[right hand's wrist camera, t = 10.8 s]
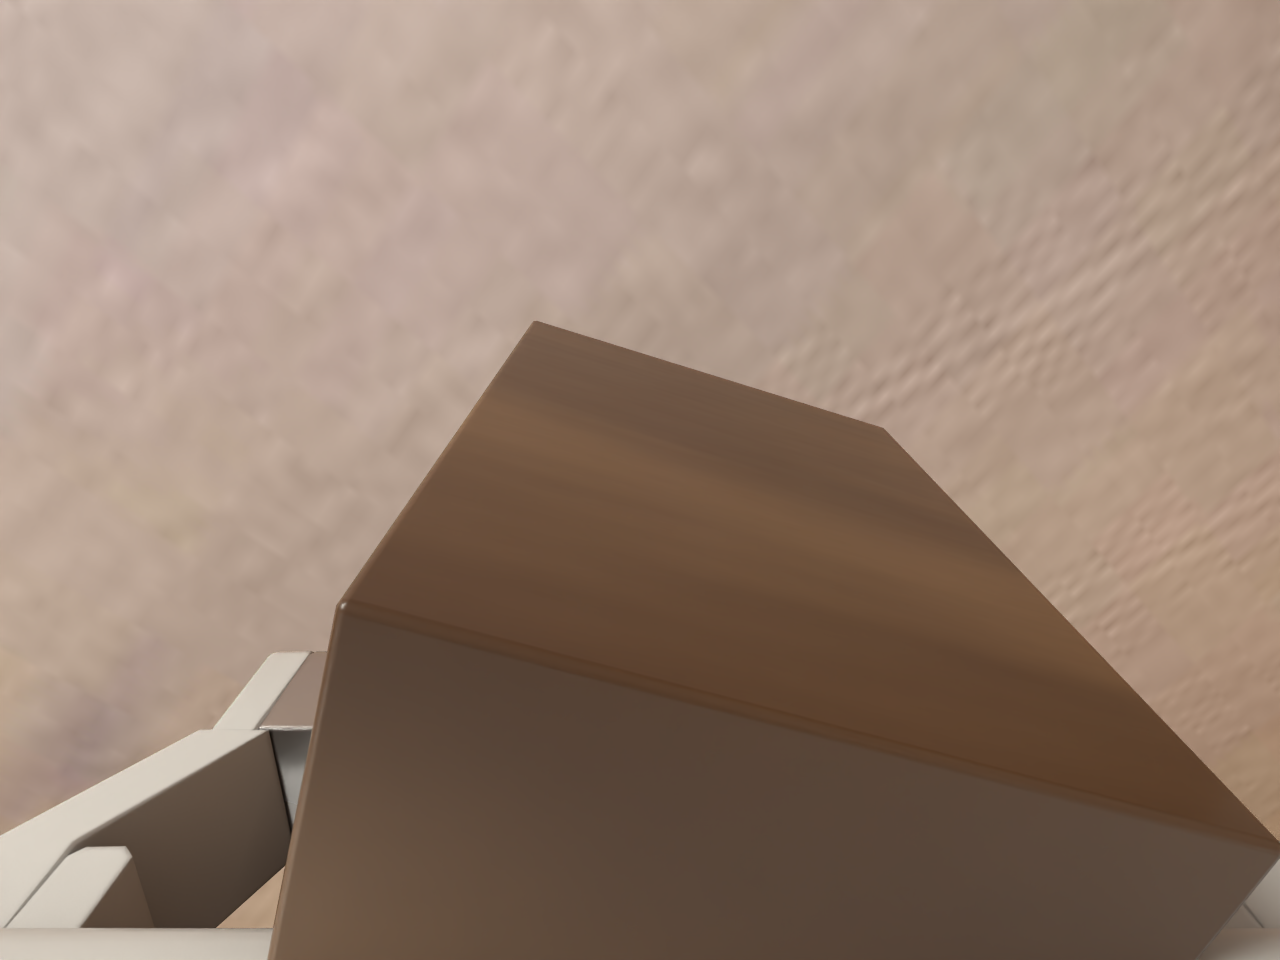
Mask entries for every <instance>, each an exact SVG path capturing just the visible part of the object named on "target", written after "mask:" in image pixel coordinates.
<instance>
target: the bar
mask: <svg viewBox="0 0 1280 960" xmlns="http://www.w3.org/2000/svg"><path fill="white" fill-rule="evenodd" d="M1279 859H1280V842H1279V841H1278V840H1277V839H1276V838H1275V837H1274V836H1273V835H1272V834H1271V833H1270V832H1269V831H1268V830H1267V829H1266V828H1265V827H1264V826H1263V825H1262V824H1261V823H1260V821H1259V820H1258V819H1257V818H1256V817H1255V816H1254V815H1253V814H1252V813H1251V812H1250V811H1249V810H1248V809H1247V808H1246V807H1245V806H1244V805H1243V804H1242V803H1241V802H1240V801H1239V800H1238V798H1237V797H1236V796H1235V795H1234V794H1233V793H1232V792H1231V791H1230V790H1229V789H1228V788H1227V787H1226V786H1225V785H1224V784H1223V783H1222V782H1221V781H1220V780H1219V779H1218V778H1217V776H1216V775H1215V774H1214V773H1213V772H1212V771H1211V770H1210V769H1209V768H1208V767H1207V766H1206V765H1205V764H1204V763H1203V762H1202V761H1201V760H1200V759H1199V758H1198V757H1197V756H1196V755H1195V753H1194V752H1193V751H1192V750H1191V749H1190V748H1189V747H1188V746H1187V745H1186V744H1185V743H1184V742H1183V741H1182V740H1181V739H1180V738H1179V737H1178V736H1177V735H1176V734H1175V733H1174V732H1173V730H1172V729H1171V728H1170V727H1169V726H1168V725H1167V724H1166V723H1165V722H1164V721H1163V720H1162V719H1161V718H1160V717H1159V716H1158V715H1157V714H1156V713H1155V712H1154V711H1153V710H1152V708H1151V707H1150V706H1149V705H1148V704H1147V703H1146V702H1145V701H1144V700H1143V699H1142V698H1141V697H1140V696H1139V695H1138V694H1137V693H1136V692H1135V691H1134V690H1133V689H1132V688H1131V687H1130V685H1129V684H1128V683H1127V682H1126V681H1125V680H1124V679H1123V678H1122V677H1121V676H1120V675H1119V674H1118V673H1117V672H1116V671H1115V670H1114V669H1113V668H1112V667H1111V666H1110V665H1109V664H1108V662H1107V661H1106V660H1105V659H1104V658H1103V657H1102V656H1101V655H1100V654H1099V653H1098V652H1097V651H1096V650H1095V649H1094V648H1093V647H1092V646H1091V645H1090V644H1089V643H1088V642H1087V640H1086V639H1085V638H1084V637H1083V636H1082V635H1081V634H1080V633H1079V632H1078V631H1077V630H1076V629H1075V628H1074V627H1073V626H1072V625H1071V624H1070V623H1069V622H1068V621H1067V620H1066V619H1065V617H1064V616H1063V615H1062V614H1061V613H1060V612H1059V611H1058V610H1057V609H1056V608H1055V607H1054V606H1053V605H1052V604H1051V603H1050V602H1049V601H1048V600H1047V599H1046V598H1045V597H1044V596H1043V594H1042V593H1041V592H1040V591H1039V590H1038V589H1037V588H1036V587H1035V586H1034V585H1033V584H1032V583H1031V582H1030V581H1029V580H1028V579H1027V578H1026V577H1025V576H1024V575H1023V574H1022V572H1021V571H1020V570H1019V569H1018V568H1017V567H1016V566H1015V565H1014V564H1013V563H1012V562H1011V561H1010V560H1009V559H1008V558H1007V557H1006V556H1005V555H1004V554H1003V553H1002V552H1001V551H1000V549H999V548H998V547H997V546H996V545H995V544H994V543H993V542H992V541H991V540H990V539H989V538H988V537H987V536H986V535H985V534H984V533H983V532H982V531H981V530H980V529H979V528H978V526H977V525H976V524H975V523H974V522H973V521H972V520H971V519H970V518H969V517H968V516H967V515H966V514H965V513H964V512H963V511H962V510H961V509H960V508H959V507H958V506H957V504H956V503H955V502H954V501H953V500H952V499H951V498H950V497H949V496H948V495H947V494H946V493H945V492H944V491H943V490H942V489H941V488H940V487H939V486H938V485H937V484H936V483H935V481H934V480H933V479H932V478H931V477H930V476H929V475H928V474H927V473H926V472H925V471H924V470H923V469H922V468H921V467H920V466H919V465H918V464H917V463H916V462H915V461H914V460H913V458H912V457H911V456H910V455H909V454H908V453H907V452H906V451H905V450H904V449H903V448H902V447H901V446H900V445H899V444H898V443H897V442H896V441H895V440H894V439H893V438H892V436H891V435H890V434H889V433H888V432H887V431H886V430H885V429H884V428H881V427H878V426H875V425H872V424H868V423H865V422H862V421H859V420H855V419H852V418H849V417H846V416H842V415H839V414H836V413H833V412H829V411H826V410H823V409H820V408H817V407H813V406H810V405H807V404H804V403H800V402H797V401H794V400H791V399H787V398H784V397H781V396H778V395H775V394H771V393H768V392H765V391H762V390H758V389H755V388H752V387H749V386H745V385H742V384H739V383H736V382H733V381H729V380H726V379H723V378H720V377H716V376H713V375H710V374H707V373H703V372H700V371H697V370H694V369H690V368H687V367H684V366H681V365H678V364H674V363H671V362H668V361H665V360H661V359H658V358H655V357H652V356H648V355H645V354H642V353H639V352H636V351H632V350H629V349H626V348H623V347H619V346H616V345H613V344H610V343H606V342H603V341H600V340H597V339H594V338H590V337H587V336H584V335H581V334H577V333H574V332H571V331H568V330H564V329H561V328H558V327H555V326H551V325H548V324H545V323H542V322H539V321H533V323H532V324H531V325H530V327H529V328H528V330H527V331H526V333H525V334H524V335H523V337H522V338H521V340H520V341H519V343H518V344H517V346H516V347H515V348H514V350H513V351H512V353H511V354H510V356H509V357H508V359H507V360H506V361H505V363H504V364H503V366H502V367H501V369H500V370H499V372H498V373H497V374H496V376H495V377H494V379H493V380H492V382H491V383H490V385H489V386H488V387H487V389H486V390H485V392H484V393H483V395H482V396H481V398H480V399H479V400H478V402H477V403H476V405H475V406H474V408H473V409H472V411H471V412H470V413H469V415H468V416H467V418H466V419H465V421H464V422H463V424H462V425H461V426H460V428H459V429H458V431H457V432H456V434H455V435H454V437H453V438H452V439H451V441H450V442H449V444H448V445H447V447H446V448H445V450H444V451H443V452H442V454H441V455H440V457H439V458H438V460H437V461H436V463H435V464H434V465H433V467H432V468H431V470H430V471H429V473H428V474H427V476H426V477H425V478H424V480H423V481H422V483H421V484H420V486H419V487H418V489H417V490H416V491H415V493H414V494H413V496H412V497H411V499H410V500H409V502H408V503H407V504H406V506H405V507H404V509H403V510H402V512H401V513H400V515H399V516H398V517H397V519H396V520H395V522H394V523H393V525H392V526H391V528H390V529H389V530H388V532H387V533H386V535H385V536H384V538H383V539H382V540H381V542H380V543H379V545H378V546H377V548H376V549H375V551H374V552H373V553H372V555H371V556H370V558H369V559H368V561H367V562H366V564H365V565H364V566H363V568H362V569H361V571H360V572H359V574H358V575H357V577H356V578H355V579H354V581H353V582H352V584H351V585H350V587H349V588H348V590H347V591H346V592H345V594H344V595H343V597H342V598H341V600H340V601H339V603H338V604H337V605H336V610H335V615H334V620H333V625H332V630H331V635H330V641H329V646H328V651H327V656H326V661H325V666H324V671H323V676H322V681H321V686H320V692H319V697H318V702H317V707H316V712H315V717H314V722H313V727H312V732H311V737H310V743H309V748H308V753H307V758H306V763H305V768H304V773H303V778H302V783H301V789H300V794H299V799H298V804H297V809H296V814H295V819H294V824H293V829H292V834H291V840H290V845H289V850H288V855H287V860H286V865H285V870H284V875H283V880H282V885H281V891H280V896H279V901H278V906H277V911H276V916H275V921H274V926H273V931H272V936H271V942H270V947H269V952H268V957H267V960H1198V958H1199V957H1200V956H1201V955H1202V954H1203V952H1204V951H1205V950H1206V949H1207V947H1208V946H1209V945H1210V944H1211V942H1212V941H1213V940H1214V939H1215V938H1216V936H1217V935H1218V934H1219V933H1220V931H1221V930H1222V929H1223V928H1224V927H1225V925H1226V924H1227V923H1228V922H1229V920H1230V919H1231V918H1232V917H1233V915H1234V914H1235V913H1236V912H1237V911H1238V909H1239V908H1240V907H1241V906H1242V904H1243V903H1244V902H1245V901H1246V900H1247V898H1248V897H1249V896H1250V895H1251V893H1252V892H1253V891H1254V890H1255V888H1256V887H1257V886H1258V885H1259V884H1260V882H1261V881H1262V880H1263V879H1264V877H1265V876H1266V875H1267V874H1268V873H1269V871H1270V870H1271V869H1272V868H1273V866H1274V865H1275V864H1276V863H1277V861H1278V860H1279Z"/></svg>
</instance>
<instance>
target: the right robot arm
mask: <svg viewBox="0 0 1280 960" xmlns="http://www.w3.org/2000/svg"><path fill="white" fill-rule="evenodd" d="M326 656H327V652H312V651H279V652H276V653H273V654H270V655H269V656H268V657H267V659H266V660H265V661H264V663H263V664H262V665H261V666H260V668H259V669H258V670H257V672H256V673H255V674H254V676H253V677H252V678H251V679H250V681H249V682H248V683H247V685H246V686H245V687H244V688H243V690H242V691H241V692H240V694H239V695H238V696H237V698H236V699H235V700H234V701H233V703H232V704H231V705H230V707H229V708H228V709H227V710H226V712H225V713H224V714H223V716H222V717H221V718H220V720H219V721H218V722H217V723H216V725H215V726H214V727H213V729H212V730H198V731H196V732H194V733H192V734H190V735H189V736H187V737H185V738H183V739H181V740H179V741H177V742H175V743H174V744H172V745H170V746H168V747H166V748H164V749H162V750H160V751H158V752H157V753H155V754H153V755H151V756H149V757H147V758H145V759H143V760H142V761H140V762H138V763H136V764H134V765H132V766H130V767H128V768H126V769H125V770H123V771H121V772H119V773H117V774H115V775H113V776H111V777H110V778H108V779H106V780H104V781H102V782H100V783H98V784H96V785H94V786H93V787H91V788H89V789H87V790H85V791H83V792H81V793H79V794H78V795H76V796H74V797H72V798H70V799H68V800H66V801H64V802H62V803H61V804H59V805H57V806H55V807H53V808H51V809H49V810H47V811H46V812H44V813H42V814H40V815H38V816H36V817H34V818H32V819H30V820H29V821H27V822H25V823H23V824H21V825H19V826H17V827H15V828H14V829H12V830H10V831H8V832H6V833H4V834H2V835H0V960H267V957H268V952H269V947H270V942H271V936H272V931H273V928H216V927H217V926H218V925H219V924H221V923H222V922H223V921H224V920H225V919H226V918H227V917H228V916H229V915H231V914H232V913H233V912H234V911H235V910H236V909H237V908H238V907H239V906H241V905H242V904H243V903H244V902H245V901H246V900H247V899H248V898H249V897H251V896H252V895H253V894H254V893H255V892H256V891H257V890H258V889H259V888H261V887H262V886H263V885H264V884H265V883H266V882H267V881H268V880H270V879H271V878H272V877H273V876H274V875H275V874H276V873H277V872H278V871H280V870H281V869H282V868H283V867H284V866H285V865H286V860H287V855H288V850H289V845H290V840H291V834H292V829H293V824H294V819H295V814H296V809H297V804H298V799H299V794H300V789H301V783H302V778H303V773H304V768H305V763H306V758H307V753H308V748H309V743H310V737H311V732H312V727H313V722H314V717H315V712H316V707H317V702H318V697H319V692H320V686H321V681H322V676H323V671H324V666H325V661H326ZM1279 842H1280V841H1279ZM1198 960H1280V859H1279V860H1278V861H1277V863H1276V864H1275V865H1274V866H1273V868H1272V869H1271V870H1270V871H1269V873H1268V874H1267V875H1266V876H1265V877H1264V879H1263V880H1262V881H1261V882H1260V884H1259V885H1258V886H1257V887H1256V888H1255V890H1254V891H1253V892H1252V893H1251V895H1250V896H1249V897H1248V898H1247V900H1246V901H1245V902H1244V903H1243V904H1242V906H1241V907H1240V908H1239V909H1238V911H1237V912H1236V913H1235V914H1234V915H1233V917H1232V918H1231V919H1230V920H1229V922H1228V923H1227V924H1226V925H1225V927H1224V928H1223V929H1222V930H1221V931H1220V933H1219V934H1218V935H1217V936H1216V938H1215V939H1214V940H1213V941H1212V942H1211V944H1210V945H1209V946H1208V947H1207V949H1206V950H1205V951H1204V952H1203V954H1202V955H1201V956H1200V957H1199V958H1198Z"/></svg>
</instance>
